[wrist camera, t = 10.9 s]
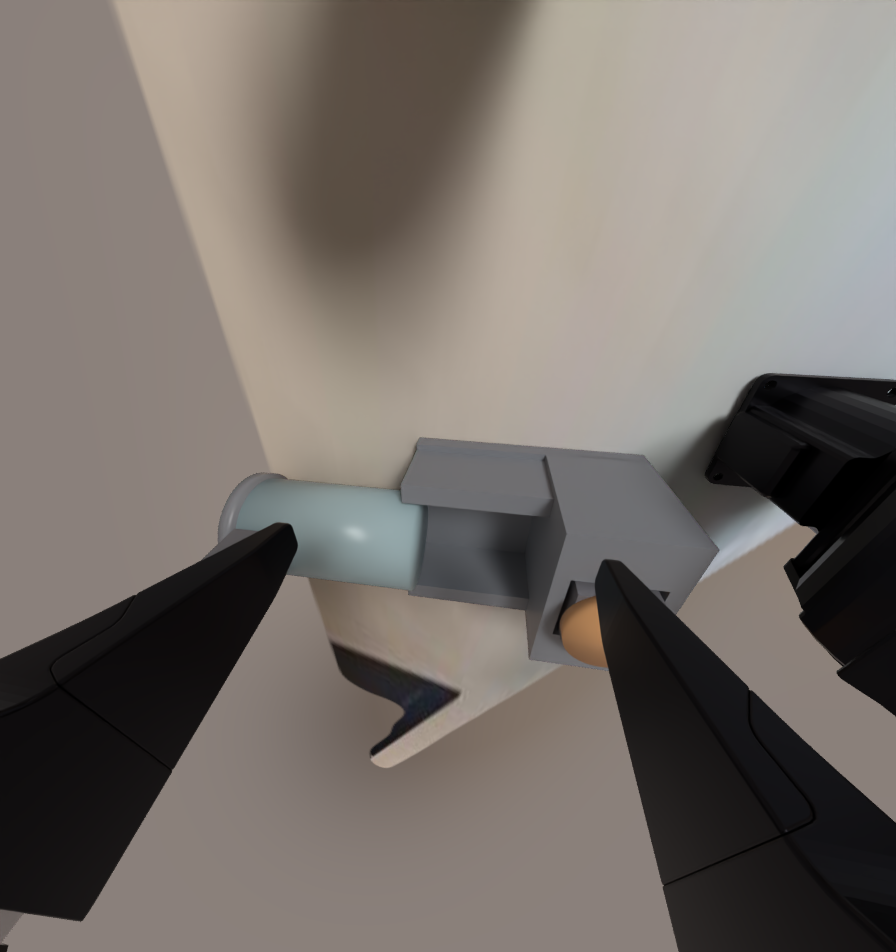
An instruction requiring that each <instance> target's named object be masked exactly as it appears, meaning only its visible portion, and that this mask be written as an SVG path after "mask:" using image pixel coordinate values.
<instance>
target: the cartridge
mask: <svg viewBox="0 0 896 952" xmlns="http://www.w3.org/2000/svg"><path fill="white" fill-rule="evenodd" d="M276 522H283V523H289V524H291V525H292V527H293V530H294V533H295V536H296V539H297V541H298V549H297V552H296V554H295V556H294V558H293V561H292V563H291V565H290V567H289V569H288V571H287V573H286V575H294V576H302V577H309V578H317V579H325V580H332V581H340V582H348V583H356V584H364V585H371V586H379V587H387V588H395V589H402V590H410V591H412V590H414V588H415V587H416V585H417V582H418V579H419V576H420V572H421V568H422V564H423V559H424V553H425V546H426V538H427V527H428V505H420V504H411V503H402V495H401V490H392V489H382V488H372V487H361V486H351V485H341V484H330V483H320V482H310V481H299V480H289V479H287V478H286V477H284V476H282V475H280V474H274V473H256V474H253V475H251V476H249V477H247V478H246V479H244V480H243V481H242V482H241V483H239V484H238V486H237V487H236V488H235V489H234V490H233V492H232V493H231V494H230V496H229V498H228V499H227V501H226V504H225V506H224V508H223V510H222V514H221V517H220V521H219V526H218V545H217V546H215V548H213V549H212V550H211V551H210V552H209V553H208V554H207V555H206V556H205V557H204V558H203V559H205V558H207V557H209V556H211V555H213V554H215V553H217V552H219V551H221V550H223V549H225V548H227V547H229V546H231V545H233V544H235V543H236V542H238V541H240V540H242V539H244V538H246V537H248V536H250V535H252V534H254V533H256V532H258V531H260V530H262V529H264V528H266V527H268V526H270V525H272V524H274V523H276ZM203 559H202V560H203Z"/></svg>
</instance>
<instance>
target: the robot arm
mask: <svg viewBox="0 0 896 952" xmlns="http://www.w3.org/2000/svg"><path fill="white" fill-rule="evenodd" d="M769 381H771V383H770V384H769V386H767V387H765V384H766V383H767V382H769ZM764 387H765V388H764ZM891 389H892V390H891ZM889 390H891V391H890V392H889V393H888V391H889ZM895 405H896V380H891V379H872V378H853V377H834V376H815V375H796V374H777V373H768V374H764V375H762V376H760V377H759V378H758V379H757V380H756V381H755V382H754V384H753V386H752V388H751V390H750V392H749V393H748V395H747V397H746V399H745V401H744V403H743V404H742V406H741V408H740V410H739V412H738V414H737V415H736V416H735V418H734V420H733V422H732V424H731V426H730V427H729V429H728V431H727V433H726V435H725V437H724V438H723V440H722V442H721V444H720V446H719V448H718V450H717V451H716V454H715V456H714V458H713V460H712V462H711V464H710V465H709V467H708V469H707V471H706V473H705V478H706V479H707V480H708V481H709V482H710V483H713V484H721V485H733V486H745V487H752V488H753V489H755V490H756V491H757V492H758V493H759V494H760V495H762V496H764V497H767V498H768V499H769V500H771V501H772V502H773V503H774V504H775V505H777V506H778V507H779V508H780V509H781V510H783V511H784V512H785V513H786V514H787V515H789V516H790V517H791V518H792V519H793V520H795V521H796V522H797V523H798V524H799V525H801V526H808V527H809V528H810V529H811V530H813V531H814V532H815V533H816V535H815V537H814V538H813V539H812V540H811V541H810V542H809V543H808V544H807V545H806V546H805V547H804V549H803V550H802V551H801V552H800V553H799V554H798V555H797V556H796V557H795V558H791V559H790V560H789V561H788V562H787V563H786V564H785V565H784V570H785V572H786V574H787V576H788V578H789V580H790V582H791V584H792V586H793V589H794V591H795V593H796V595H797V597H798V599H799V602H800V605H801V608H802V609H803V611H802V612H801V613H800V614H799V618H800V620H801V621H802V623H803V624H804V625H805V627H806V628H807V629H808V631H809V632H810V633H811V634H812V636H813V637H814V638H815V639H816V641H818V642H819V643H820V644H821V645H822V646H823V647H824V648H825V649H826V650H827V651H828V653H829V654H830V655H831V656H832V657H833V658H834V659H835V660H836V661H837V662H838V663H839V664H841V665H842V666H843V667H842V668H840V669H839V670H837V674H838V676H839V677H840V678H841V679H842V680H844V681H845V682H847V683H848V684H850V685H851V686H853V687H855V688H856V689H858V690H859V691H861V692H862V693H864V694H865V695H867V696H868V697H870V698H871V699H873V700H875V701H876V702H878V703H879V704H881V705H882V706H883V707H884V708H886V709H887V710H888V711H890V712H891V713H892V714H893V715H895V716H896V406H895ZM718 473H719V474H718ZM716 474H718V475H717V476H715V477H714V475H716ZM297 549H298V541H297V539H296V536H295V533H294V530H293V527H292V525H291V524H289V523H283V522H276V523H274V524H272V525H270V526H268V527H266V528H264V529H262V530H260V531H258V532H256V533H254V534H252V535H250V536H248V537H246V538H244V539H242V540H240V541H238V542H236V543H235V544H233V545H231V546H229V547H227V548H225V549H223V550H221V551H219V552H217V553H215V554H213V555H211V556H209V557H207V558H205V559H203V560H201V561H199V562H197V563H196V564H194V565H192V566H190V567H188V568H186V569H184V570H182V571H180V572H178V573H176V574H174V575H172V576H170V577H168V578H166V579H164V580H162V581H160V582H158V583H157V584H155V585H153V586H151V587H149V588H147V589H145V590H143V591H141V592H139V593H138V594H137V595H133V596H131V597H129V598H127V599H125V600H123V601H121V602H120V603H118V604H116V605H114V606H112V607H110V608H108V609H106V610H104V611H102V612H100V613H98V614H95V615H94V616H92V617H89V618H87V619H85V620H83V621H81V622H79V623H77V624H75V625H72V626H70V627H68V628H66V629H64V630H62V631H60V632H58V633H55V634H53V635H51V636H49V637H47V638H45V639H43V640H40V641H38V642H36V643H34V644H32V645H30V646H27V647H25V648H23V649H21V650H19V651H16V652H14V653H12V654H10V655H8V656H5V657H3V658H1V659H0V952H7V948H8V945H6V944H3V943H2V941H3V940H4V939H5V937H6V936H7V935H8V933H9V932H10V931H11V929H12V928H13V927H14V925H15V924H16V923H17V922H18V920H19V919H20V918H21V916H22V915H23V914H24V913H27V914H34V915H41V916H47V917H53V918H61V919H67V920H73V921H80V922H81V921H83V919H84V918H85V916H86V915H87V914H88V912H89V911H90V909H91V907H92V906H93V904H94V903H95V901H96V899H97V898H98V896H99V894H100V893H101V891H102V889H103V888H104V886H105V884H106V883H107V881H108V879H109V878H110V876H111V874H112V872H113V871H114V869H115V867H116V866H117V864H118V862H119V861H120V859H121V857H122V856H123V854H124V852H125V850H126V849H127V847H128V845H129V844H130V842H131V840H132V838H133V837H134V835H135V833H136V832H137V830H138V829H139V827H140V825H141V823H142V821H143V820H144V818H145V817H146V815H147V813H148V812H149V810H150V808H151V807H152V805H153V803H154V801H155V800H156V798H157V796H158V795H159V793H160V791H161V790H162V788H163V786H164V785H165V783H166V781H167V779H168V778H169V776H170V775H171V773H172V769H174V767H175V766H176V764H177V762H178V761H179V759H180V757H181V756H182V754H183V752H184V750H185V748H186V747H187V745H188V744H189V742H190V740H191V739H192V737H193V735H194V733H195V732H196V730H197V728H198V727H199V725H200V723H201V722H202V720H203V718H204V717H205V715H206V713H207V712H208V710H209V708H210V707H211V705H212V703H213V701H214V700H215V698H216V696H217V695H218V693H219V691H220V690H221V688H222V686H223V685H224V683H225V681H226V680H227V678H228V676H229V674H230V672H231V671H232V669H233V668H234V666H235V664H236V663H237V661H238V659H239V657H240V656H241V654H242V652H243V651H244V649H245V647H246V646H247V644H248V642H249V641H250V639H251V637H252V636H253V634H254V632H255V631H256V629H257V627H258V625H259V624H260V622H261V620H262V619H263V617H264V615H265V613H266V612H267V610H268V609H269V607H270V605H271V603H272V602H273V600H274V598H275V596H276V594H277V592H278V590H279V588H280V586H281V584H282V582H283V579H284V578H285V576H286V573H287V571H288V569H289V567H290V565H291V563H292V561H293V558H294V556H295V554H296V552H297ZM595 594H596V601H597V609H598V616H599V624H600V632H601V638H602V644H603V649H604V653H605V657H606V661H607V665H608V669H609V673H610V677H611V681H612V685H613V689H614V693H615V697H616V701H617V705H618V709H619V713H620V717H621V721H622V725H623V729H624V734H625V738H626V742H627V745H628V749H629V754H630V758H631V761H632V766H633V770H634V774H635V777H636V781H637V786H638V790H639V793H640V797H641V802H642V805H643V809H644V814H645V817H646V821H647V826H648V829H649V833H650V837H651V842H652V845H653V849H654V854H655V858H656V861H657V866H658V870H659V874H660V878H661V882H662V884H663V885H664V886H663V891H664V895H665V899H666V903H667V907H668V911H669V915H670V919H671V923H672V927H673V931H674V935H675V938H676V943H677V947H678V951H679V952H896V823H895V822H894V821H893V820H892V819H891V818H890V817H889V816H888V815H886V814H885V813H884V812H883V811H882V810H881V809H880V808H879V807H877V806H876V805H875V804H874V803H873V802H872V801H871V800H869V799H868V798H867V797H866V796H865V795H864V794H863V793H862V792H861V791H859V790H858V789H857V788H856V787H855V786H854V785H853V784H851V783H850V782H849V781H848V780H847V779H846V778H845V777H843V776H842V775H841V774H840V773H839V772H838V771H837V770H836V769H835V768H834V767H833V766H831V765H830V764H829V763H828V762H827V761H826V760H825V759H824V758H823V757H822V756H820V755H819V754H818V753H817V752H816V751H815V750H813V748H812V747H811V746H809V745H808V744H807V743H806V742H805V741H804V740H803V739H802V738H801V737H800V736H799V735H798V734H797V733H796V732H794V731H793V730H792V729H791V728H790V727H789V726H788V725H787V724H786V723H785V722H784V721H783V720H782V719H781V718H780V717H779V716H778V715H777V714H776V713H775V712H773V710H772V709H771V708H770V707H768V706H767V705H766V704H765V703H764V702H763V701H762V700H761V699H760V698H759V697H758V696H757V695H756V694H755V693H754V692H753V691H752V690H749V688H748V686H747V685H746V684H745V683H744V682H743V681H742V680H741V679H740V678H739V677H738V676H737V675H736V674H735V673H734V672H733V671H732V670H731V669H730V668H729V667H728V666H727V665H726V664H725V663H724V662H723V661H722V660H721V659H720V658H719V657H718V656H717V655H716V654H715V653H714V652H713V651H712V650H711V649H710V648H709V647H708V646H707V645H706V644H704V643H703V642H702V641H701V640H700V639H699V638H698V637H697V636H696V635H695V634H694V633H693V632H692V631H691V630H690V629H689V628H688V627H687V626H686V625H685V624H684V623H683V622H682V621H681V620H680V619H679V618H678V617H677V616H676V615H675V614H674V613H673V612H672V611H671V610H670V609H669V608H668V607H667V606H666V605H665V604H664V603H663V602H662V601H661V600H660V599H659V598H658V597H657V596H656V595H655V594H654V593H653V592H652V591H651V590H650V589H649V588H648V587H647V586H646V585H645V584H644V583H643V582H642V581H641V580H640V579H639V578H638V577H637V576H636V575H635V574H634V573H633V572H632V571H631V570H630V569H629V568H628V567H627V566H626V565H625V564H624V563H622V562H621V561H619V560H613V559H604V560H603V561H602V562H601V565H600V567H599V570H598V573H597V576H596V578H595Z"/></svg>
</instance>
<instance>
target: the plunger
mask: <svg viewBox="0 0 896 952" xmlns="http://www.w3.org/2000/svg"><path fill="white" fill-rule="evenodd" d="M651 591H652V592H653V593H654V594H655V595H656V596H657V597H658V598H659V599H660V600H661V601H662V602H663V603H664V604H665V602H664V600H663V598H662V596H661V594H660V592H659V591H657V590H651ZM665 605H666V604H665ZM557 622H558V628H559V634H560V640H561V642H563V646H564V648H565V650H566V651H567V652H568V653H569V654H570V655H571V656H572V657H574V658H575V659H577V660H579V661H581V662H583V663H586V664H589V665H593V666H598V667H606V668H608V665H607V661H606V657H605V653H604V649H603V644H602V638H601V632H600V624H599V616H598V609H597V601H596V594H595V583H590V582H582V581H573V580H571V582H570V585H569V587H568V590H567V593H566V596H565V599H564V602H563V605H562V608H561V610H560V613H559V616H558V619H557Z"/></svg>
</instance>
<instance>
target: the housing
mask: <svg viewBox="0 0 896 952" xmlns="http://www.w3.org/2000/svg"><path fill="white" fill-rule="evenodd" d="M401 495H402V503H411V504H420V505H428V527H427V538H426V546H425V553H424V559H423V564H422V568H421V572H420V576H419V579H418V582H417V585H416V587H415V588H414V590H412V591H410V590H408V595H412V596H419V597H427V598H435V599H442V600H450V601H458V602H465V603H473V604H481V605H489V606H496V607H504V608H512V609H519V610H525V615H526V627H527V640H528V652H529V660H536V661H543V662H550V663H557V664H564V665H571V666H578V667H585V668H591V669H599V670H605V671H609V669H608V668H606V667H598V666H593V665H589V664H586V663H583V662H581V661H579V660H577V659H575V658H574V657H572V656H571V655H570V654H569V653H568V652H567V651H566V650H565V648H564V646H563V642H561V640H560V634H559V628H558V622H557V619H558V616H559V613H560V610H561V608H562V605H563V602H564V599H565V596H566V593H567V590H568V587H569V585H570V582H571V580H573V581H582V582H590V583H595V578H596V576H597V573H598V570H599V567H600V565H601V562H602V561H603V560H604V559H613V560H619V561H621V562H622V563H624V564H625V565H626V566H627V567H628V568H629V569H630V570H631V571H632V572H633V573H634V574H635V575H636V576H637V577H638V578H639V579H640V580H641V581H642V582H643V583H644V584H645V585H646V586H647V587H648V588H649V589H650V590H657V591H659V592H660V594H661V596H662V598H663V600H664V602H665V604H666V606H667V607H668V608H669V609H670V610H671V611H672V612H673V613H674V614H675V615H676V614H677V612H678V611H679V609H680V608H681V606H682V605H683V603H684V602H685V600H686V599H687V598H688V596H689V595H690V593H691V591H692V590H693V589H694V587H695V586H696V584H697V583H698V581H699V580H700V578H701V577H702V575H703V574H704V572H705V571H706V569H707V568H708V566H709V565H710V563H711V562H712V560H713V559H714V557H715V556H716V554H717V553H718V552H719V549H718V547H717V546H716V545H715V544H714V542H713V541H712V540H711V539H710V537H709V536H708V535H707V534H706V532H705V531H704V530H703V529H702V527H701V526H700V525H699V524H698V522H697V521H696V520H695V519H694V517H693V516H692V515H691V514H690V512H689V511H688V510H687V509H686V507H685V506H684V505H683V504H682V502H681V501H680V500H679V499H678V497H677V496H676V495H675V494H674V492H673V491H672V490H671V489H670V487H669V486H668V485H667V484H666V482H665V481H664V480H663V478H662V477H661V476H660V475H659V473H658V472H657V471H656V470H655V468H654V467H653V466H652V465H651V463H650V462H649V461H648V460H647V458H646V457H645V456H644V455H635V454H622V453H610V452H597V451H584V450H572V449H559V448H546V447H534V446H521V445H509V444H496V443H483V442H471V441H458V440H445V439H433V438H419V440H418V443H417V451H416V453H415V455H414V457H413V459H412V461H411V464H410V466H409V468H408V470H407V472H406V474H405V477H404V479H403V481H402V483H401Z"/></svg>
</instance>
